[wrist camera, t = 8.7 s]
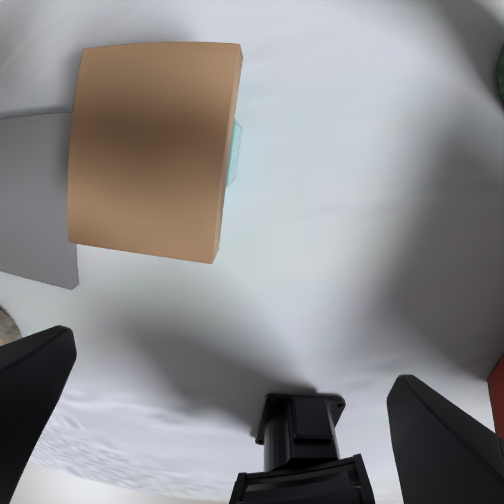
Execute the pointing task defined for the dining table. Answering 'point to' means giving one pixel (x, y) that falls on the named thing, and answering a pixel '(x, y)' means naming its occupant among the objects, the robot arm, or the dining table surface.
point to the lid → (152, 147)
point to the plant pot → (497, 397)
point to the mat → (36, 199)
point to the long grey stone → (8, 329)
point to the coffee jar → (501, 73)
